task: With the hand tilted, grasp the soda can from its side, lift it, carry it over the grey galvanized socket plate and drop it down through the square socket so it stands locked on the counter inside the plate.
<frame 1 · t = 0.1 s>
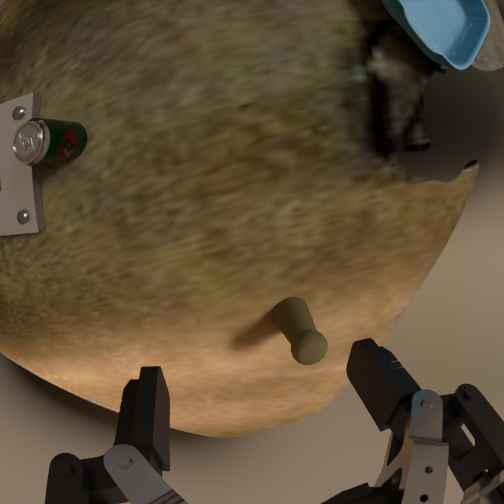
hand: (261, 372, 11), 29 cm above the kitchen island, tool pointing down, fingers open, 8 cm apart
soda can: (73, 140, 30), on the kitchen island
cork: (290, 312, 46), on the kitchen island
casserole dish: (428, 6, 28), on the kitchen island
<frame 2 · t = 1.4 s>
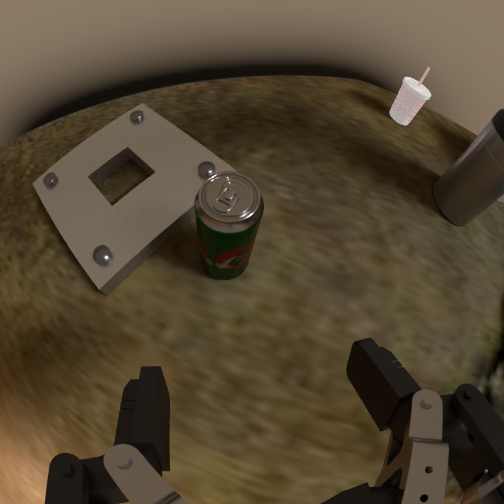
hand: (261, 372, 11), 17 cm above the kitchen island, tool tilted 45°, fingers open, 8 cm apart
soda can: (224, 259, 30), on the kitchen island
beverage cup: (398, 118, 46), on the kitchen island
socket plate: (124, 185, 32), on the kitchen island
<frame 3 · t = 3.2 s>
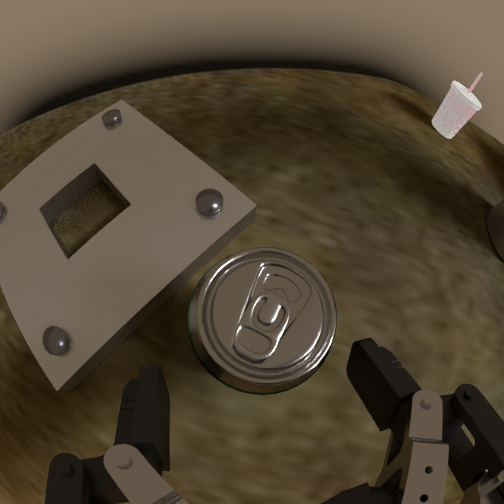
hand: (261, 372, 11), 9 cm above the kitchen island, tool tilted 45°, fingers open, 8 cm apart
soda can: (238, 346, 19), on the kitchen island
beverage cup: (441, 129, 36), on the kitchen island
socket plate: (91, 221, 21), on the kitchen island
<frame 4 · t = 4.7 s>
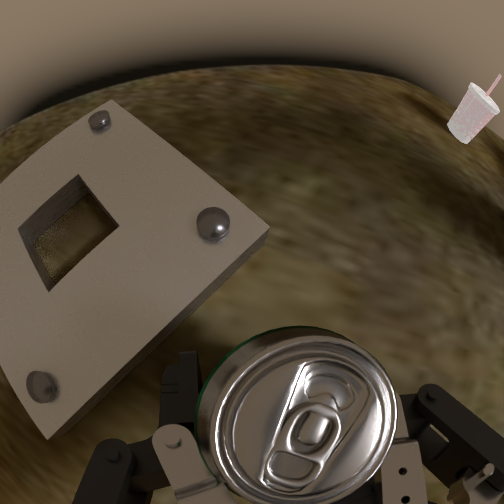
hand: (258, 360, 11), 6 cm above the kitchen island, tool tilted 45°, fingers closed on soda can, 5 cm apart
soda can: (248, 391, 16), on the kitchen island, touching gripper
beverage cup: (457, 133, 32), on the kitchen island
socket plate: (75, 242, 18), on the kitchen island
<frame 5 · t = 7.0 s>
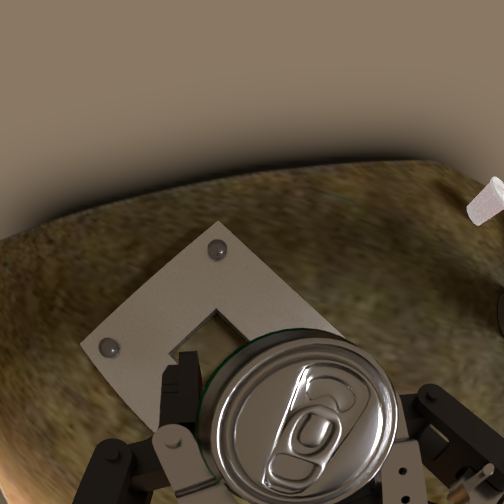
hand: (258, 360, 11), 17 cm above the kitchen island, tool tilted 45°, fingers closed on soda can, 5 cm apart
soda can: (249, 392, 16), point 11 cm above the kitchen island, touching gripper
beverage cup: (473, 215, 41), on the kitchen island
socket plate: (216, 356, 27), on the kitchen island
when the fingers open (7 cm above the kitchen island, at t = 9.6 s): soda can drops 1 cm, resting in socket plate.
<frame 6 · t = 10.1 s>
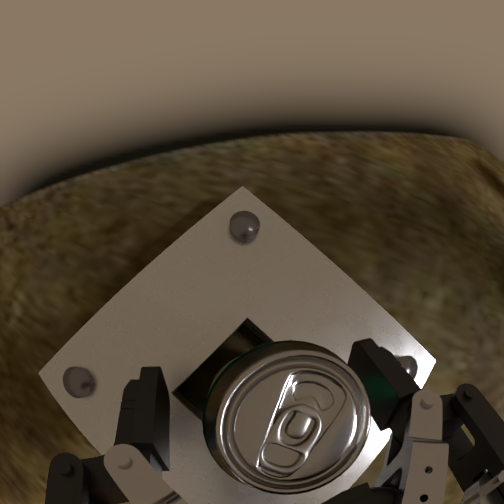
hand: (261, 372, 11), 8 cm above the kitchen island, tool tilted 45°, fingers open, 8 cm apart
soda can: (248, 392, 17), resting in socket plate
socket plate: (246, 389, 17), on the kitchen island
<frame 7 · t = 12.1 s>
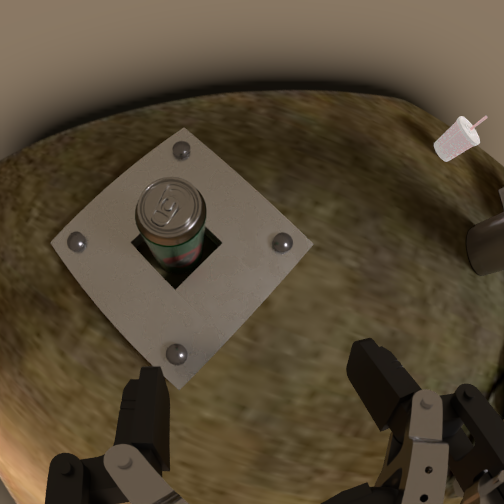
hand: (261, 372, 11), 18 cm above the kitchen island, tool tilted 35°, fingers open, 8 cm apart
soda can: (178, 251, 29), resting in socket plate
beverage cup: (440, 152, 43), on the kitchen island
socket plate: (177, 249, 29), on the kitchen island
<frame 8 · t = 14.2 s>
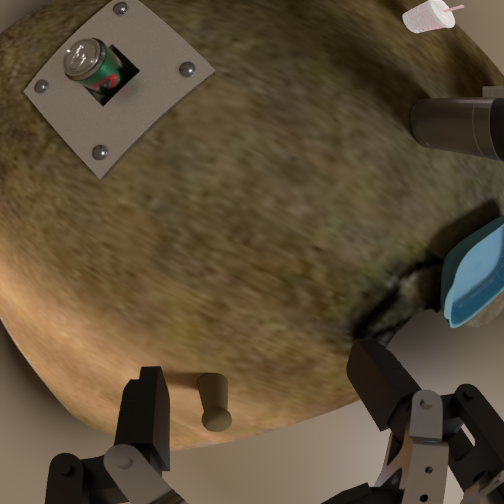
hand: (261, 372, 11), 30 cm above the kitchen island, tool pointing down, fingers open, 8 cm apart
soda can: (113, 79, 29), resting in socket plate
beverage cup: (411, 23, 31), on the kitchen island
cork: (212, 382, 50), on the kitchen island
supplement box: (493, 120, 41), on the kitchen island
casserole dish: (473, 260, 54), on the kitchen island
socket plate: (112, 78, 29), on the kitchen island
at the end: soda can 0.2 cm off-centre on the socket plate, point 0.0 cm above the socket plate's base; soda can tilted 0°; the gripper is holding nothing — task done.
